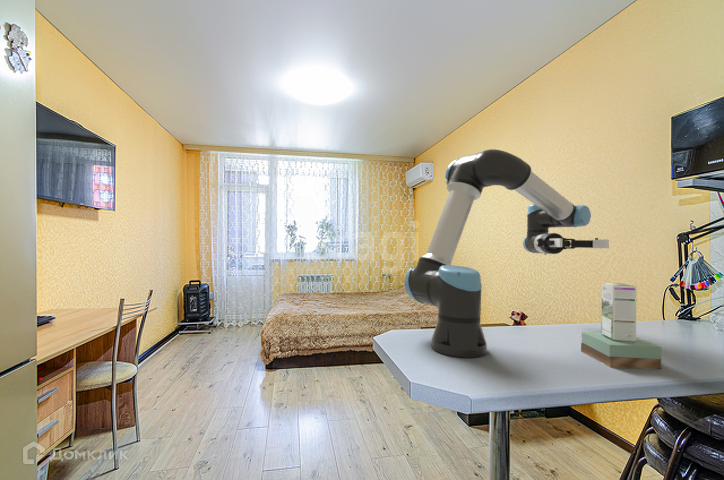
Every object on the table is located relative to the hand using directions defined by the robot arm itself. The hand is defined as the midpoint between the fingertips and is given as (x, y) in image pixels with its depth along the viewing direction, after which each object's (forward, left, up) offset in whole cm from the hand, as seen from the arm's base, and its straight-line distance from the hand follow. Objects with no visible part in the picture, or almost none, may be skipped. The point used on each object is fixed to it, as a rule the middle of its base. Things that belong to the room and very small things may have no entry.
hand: (584, 243), depth 100 cm
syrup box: (+2, -12, -25) cm, 28 cm away
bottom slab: (+2, -13, -31) cm, 34 cm away
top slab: (+2, -13, -28) cm, 31 cm away
